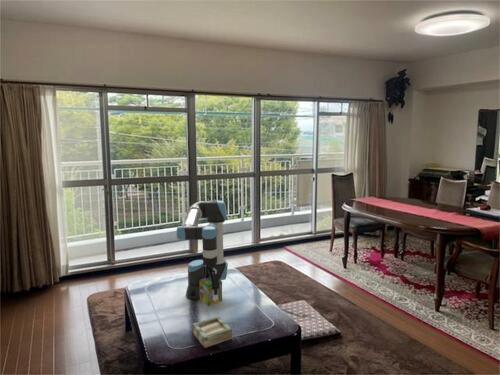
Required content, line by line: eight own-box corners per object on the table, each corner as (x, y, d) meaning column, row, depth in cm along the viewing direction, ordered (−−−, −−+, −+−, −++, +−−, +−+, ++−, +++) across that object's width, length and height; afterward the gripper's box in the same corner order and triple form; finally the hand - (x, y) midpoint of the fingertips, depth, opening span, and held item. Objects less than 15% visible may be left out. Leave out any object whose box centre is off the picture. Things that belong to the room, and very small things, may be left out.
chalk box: (199, 299, 194) (198, 274, 192) (213, 295, 200) (213, 269, 197) (208, 306, 187) (207, 279, 184) (223, 301, 192) (222, 275, 190)
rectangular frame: (192, 332, 200) (192, 323, 199) (218, 324, 208) (218, 315, 207) (204, 348, 186) (204, 338, 185) (232, 338, 194) (231, 329, 193)
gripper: (195, 251, 196) (196, 289, 200) (212, 264, 178) (213, 306, 182) (207, 248, 200) (208, 286, 204) (226, 261, 182) (226, 302, 185)
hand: (211, 296), depth 193 cm, fingers closed on chalk box, 9 cm apart
